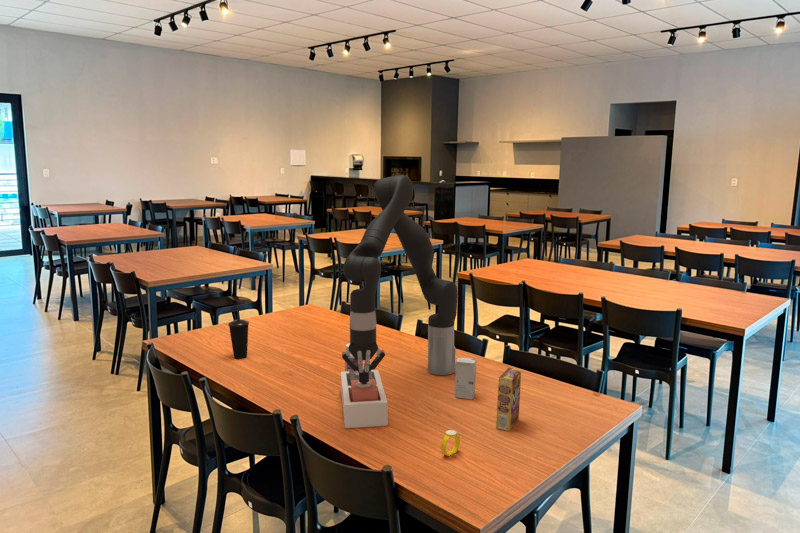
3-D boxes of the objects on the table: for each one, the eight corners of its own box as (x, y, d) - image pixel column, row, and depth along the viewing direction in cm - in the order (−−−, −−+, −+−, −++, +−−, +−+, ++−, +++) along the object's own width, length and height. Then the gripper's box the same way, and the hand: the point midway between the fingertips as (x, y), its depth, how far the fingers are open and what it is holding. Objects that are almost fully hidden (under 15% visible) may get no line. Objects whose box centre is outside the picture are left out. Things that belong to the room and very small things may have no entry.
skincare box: (454, 397, 179) (454, 361, 177) (457, 392, 183) (457, 356, 181) (473, 400, 177) (474, 363, 175) (476, 394, 181) (476, 358, 179)
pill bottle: (366, 376, 197) (365, 345, 195) (350, 380, 194) (349, 348, 192) (357, 371, 202) (356, 341, 200) (342, 374, 199) (341, 344, 197)
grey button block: (371, 389, 182) (370, 366, 181) (373, 400, 174) (373, 377, 172) (349, 390, 181) (348, 367, 180) (350, 401, 173) (350, 378, 171)
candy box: (510, 432, 156) (512, 379, 153) (495, 428, 158) (497, 376, 155) (520, 419, 164) (521, 369, 161) (505, 416, 166) (507, 366, 163)
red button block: (374, 401, 170) (374, 377, 169) (377, 413, 161) (377, 388, 160) (351, 402, 169) (351, 378, 168) (353, 415, 161) (352, 390, 159)
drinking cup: (225, 359, 215) (222, 308, 212) (238, 353, 222) (235, 303, 219) (242, 361, 213) (239, 310, 209) (254, 355, 220) (252, 305, 216)
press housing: (378, 390, 185) (377, 369, 184) (387, 425, 160) (387, 402, 159) (341, 392, 184) (340, 371, 182) (345, 428, 158) (344, 404, 157)
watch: (453, 449, 147) (454, 427, 147) (461, 452, 145) (463, 430, 145) (438, 455, 143) (439, 433, 142) (446, 459, 141) (448, 437, 140)
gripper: (384, 321, 166) (385, 377, 169) (339, 323, 164) (340, 379, 167) (387, 328, 158) (388, 387, 161) (340, 330, 156) (341, 389, 159)
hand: (363, 383), depth 164 cm, fingers closed
